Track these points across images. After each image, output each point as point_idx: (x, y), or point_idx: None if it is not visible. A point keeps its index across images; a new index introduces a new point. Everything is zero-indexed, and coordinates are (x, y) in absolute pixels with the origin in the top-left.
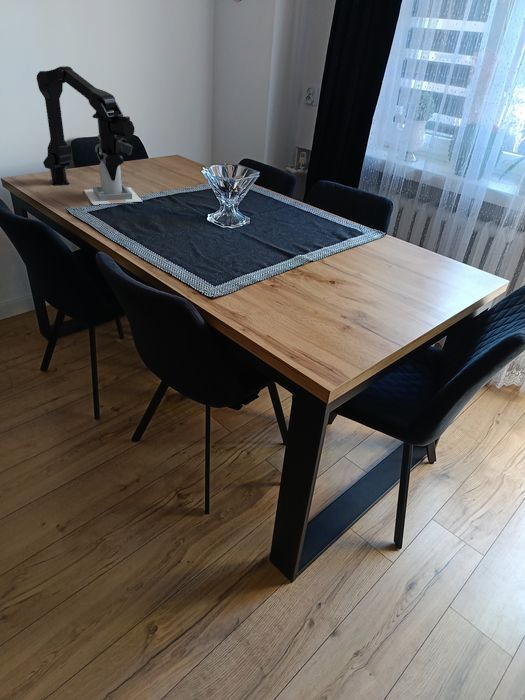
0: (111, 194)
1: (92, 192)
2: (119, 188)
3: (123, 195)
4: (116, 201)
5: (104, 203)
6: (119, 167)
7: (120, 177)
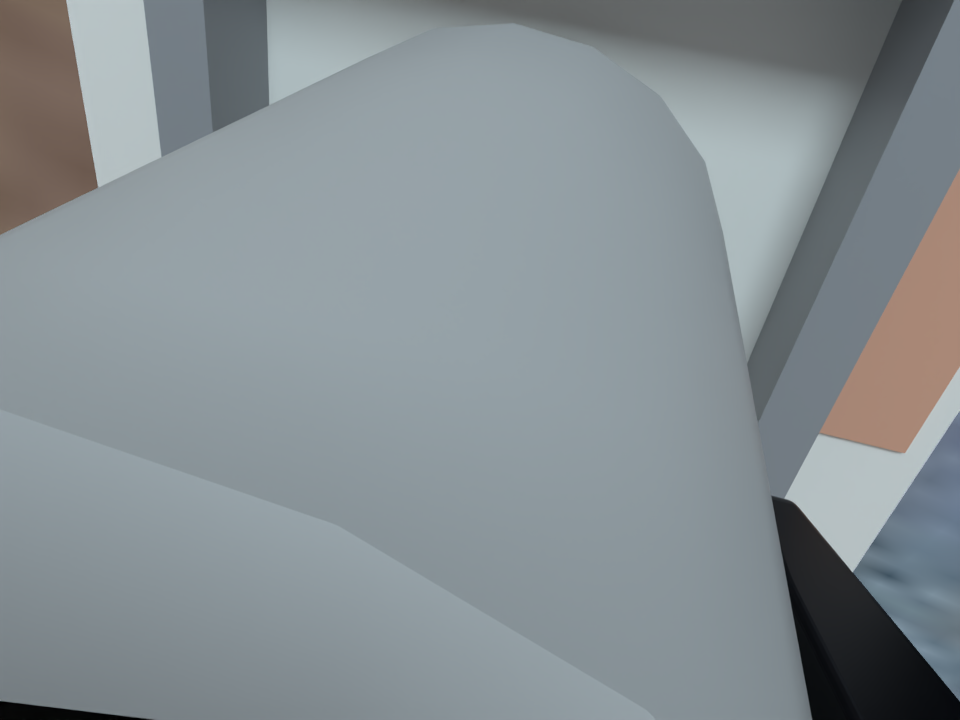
0: (785, 409)
1: None
2: (710, 201)
3: (944, 168)
4: (940, 337)
5: (882, 525)
6: (678, 633)
7: (646, 227)
